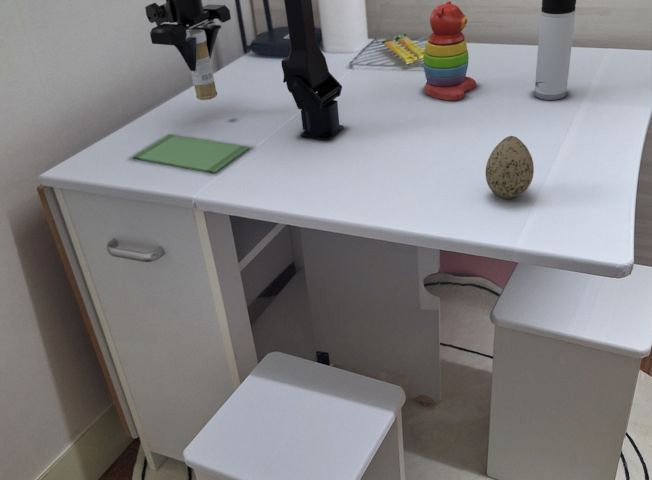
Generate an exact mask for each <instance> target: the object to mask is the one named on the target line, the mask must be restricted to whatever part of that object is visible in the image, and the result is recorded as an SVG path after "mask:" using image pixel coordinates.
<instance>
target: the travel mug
mask: <svg viewBox="0 0 652 480" xmlns="http://www.w3.org/2000/svg"><path fill="white" fill-rule="evenodd" d="M576 5H577V0H541V9H540V18H539V31H538V43H537V53H536V54H537V55H536V57H537V58H536V66H535V68H536V69H535V77H534V78H535V79H534V91H533V95H534V96H535V98H537V99H540V100H544V101H556V100H561V99H563V98H565V97H566V96H567V90H568V81H569V74H570V73H569V72H570V64H571V63H570V62H571V56H572V55H571V53H572V46H573V45H572V44H573V38H574V37H573V35H574V29H575V28H574V27H575V20H576V19H575V18H576Z"/></svg>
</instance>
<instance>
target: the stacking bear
mask: <svg viewBox="0 0 652 480" xmlns="http://www.w3.org/2000/svg"><path fill="white" fill-rule="evenodd" d="M467 23H468V18H467V16H466V15H465V14H464V12H463V11H462V10H461V8H460V7H459V6H457V5H456V4H454V3H452V1H450V0H448V1H446V2H445V3H443V4H439V5H437V6H435V7H434V9H432V11H431V13H430V17H429V25H430V28H431V31H432V33H431V34H430V35H429V37H428V39H427V40H426V42H425V45H424V46H425V47H424V52H423V59H422V62H423V63H422V65H423V72H424V76H425V79H426V82H425V85H424V93H425V94H427V95H428V96H430V97H432V98H434V99H438V100H444V101H452V102H453V101H455V102H456V101H461V100H462V99H464V98H465V92H467V91H470V90H473V89H475V88H476V87H477V81H476V80H475V79H474V78H472V77H470V76H467V72H468V68H469V58H470V56H469V50H468V45H467V41H466V36H465V35H464V33H463V32H462V31H463V30H464V29H465V28H466V25H467Z"/></svg>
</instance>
